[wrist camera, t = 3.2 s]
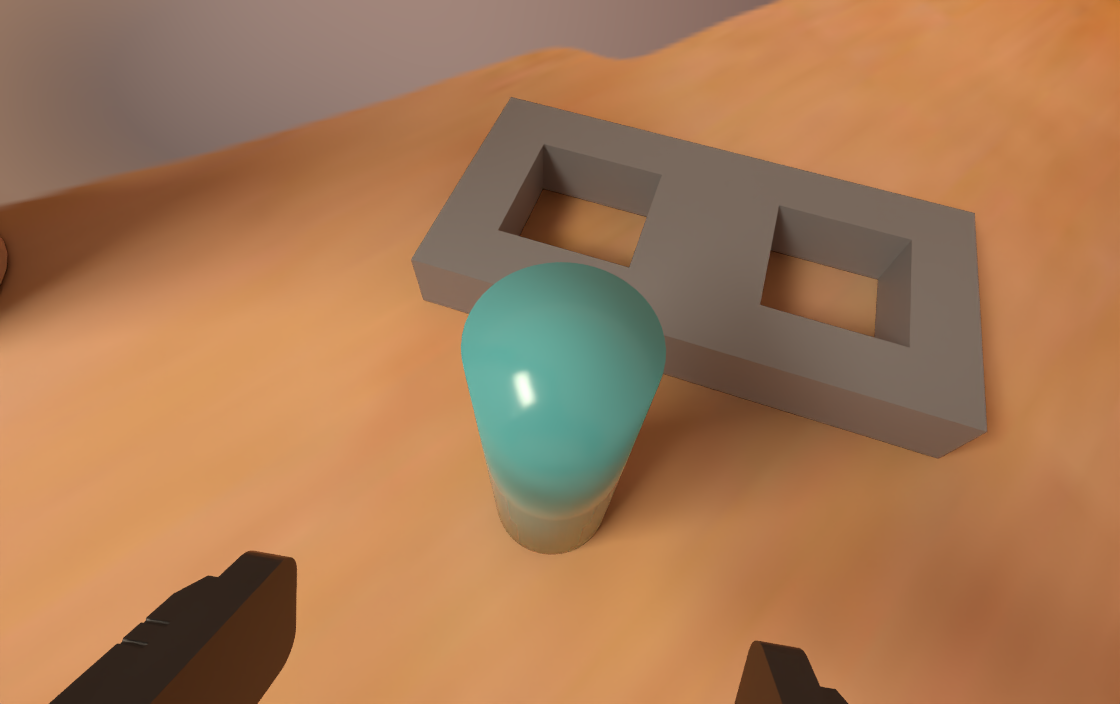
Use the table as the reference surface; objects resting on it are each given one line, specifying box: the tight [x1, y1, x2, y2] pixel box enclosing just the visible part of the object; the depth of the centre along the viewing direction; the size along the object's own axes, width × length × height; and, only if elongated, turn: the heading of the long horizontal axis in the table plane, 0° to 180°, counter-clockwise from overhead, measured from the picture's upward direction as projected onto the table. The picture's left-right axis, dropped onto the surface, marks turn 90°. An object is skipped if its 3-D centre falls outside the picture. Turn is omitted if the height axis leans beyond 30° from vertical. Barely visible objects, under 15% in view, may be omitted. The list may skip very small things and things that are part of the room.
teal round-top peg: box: [461, 262, 666, 554], centre depth 17 cm, size 4×4×12 cm
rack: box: [411, 97, 987, 458], centre depth 27 cm, size 24×12×3 cm, turn 71°
